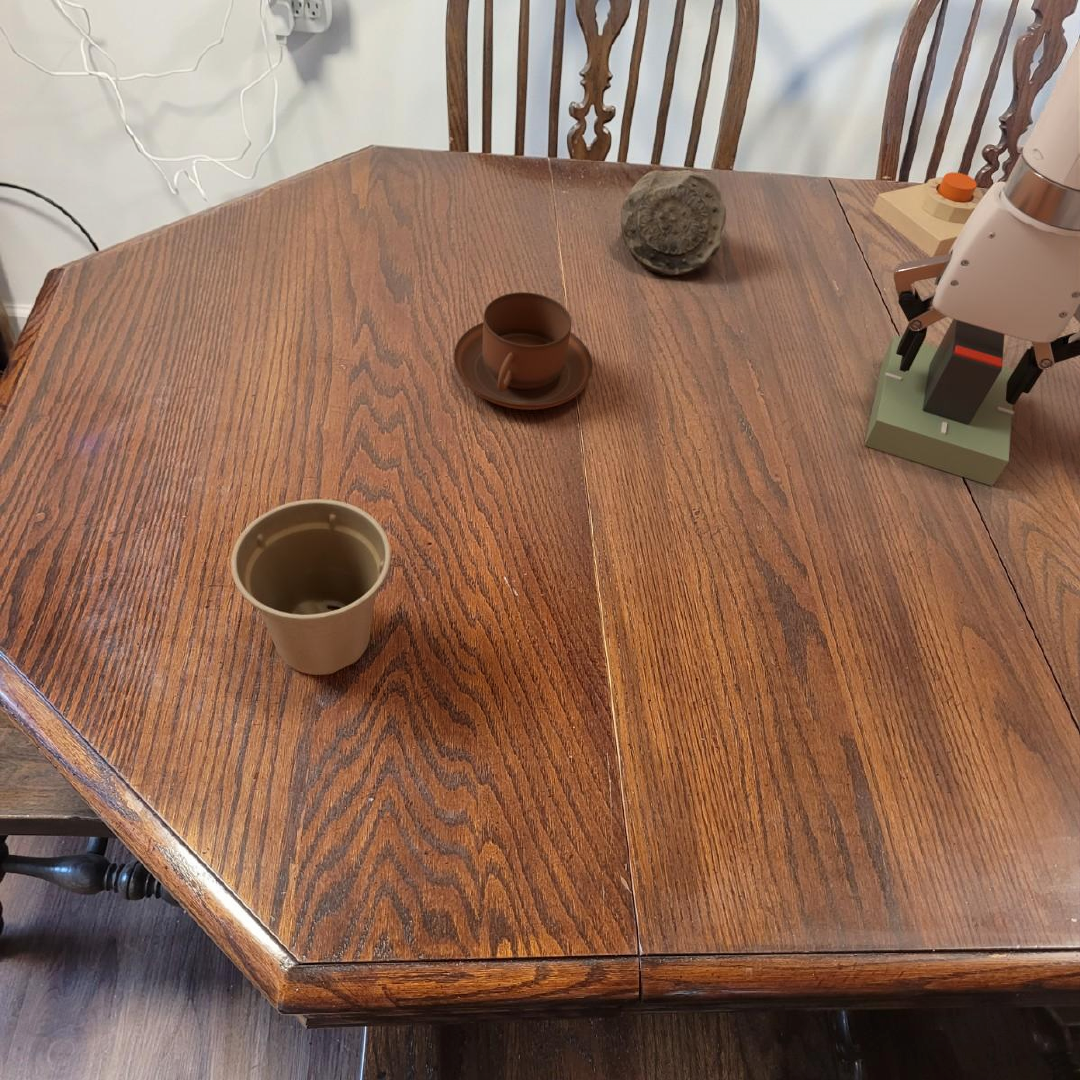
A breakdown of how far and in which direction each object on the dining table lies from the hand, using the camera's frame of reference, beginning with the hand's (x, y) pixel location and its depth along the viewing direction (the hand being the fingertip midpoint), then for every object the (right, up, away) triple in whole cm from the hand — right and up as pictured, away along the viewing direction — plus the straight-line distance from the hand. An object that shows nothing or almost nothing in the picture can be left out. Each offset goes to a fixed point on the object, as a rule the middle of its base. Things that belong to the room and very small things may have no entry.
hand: (957, 377), depth 81 cm
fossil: (-23, +16, +17) cm, 33 cm away
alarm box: (+10, +22, +26) cm, 36 cm away
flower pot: (-51, -21, -17) cm, 57 cm away
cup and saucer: (-38, 0, +2) cm, 38 cm away
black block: (0, -1, +1) cm, 2 cm away
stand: (0, -3, +4) cm, 5 cm away
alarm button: (+10, +24, +24) cm, 35 cm away
